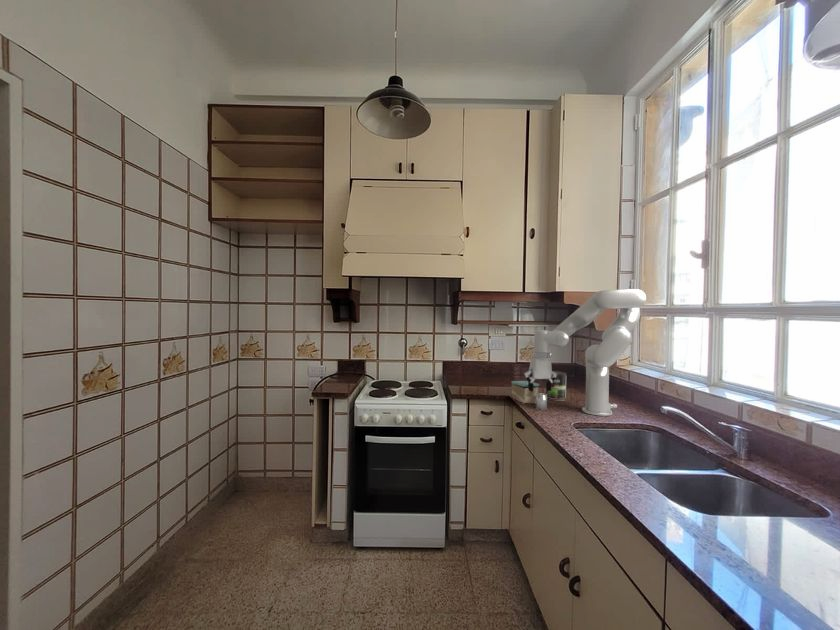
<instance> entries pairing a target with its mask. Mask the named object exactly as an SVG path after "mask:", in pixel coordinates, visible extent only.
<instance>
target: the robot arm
mask: <svg viewBox="0 0 840 630" xmlns="http://www.w3.org/2000/svg"><path fill="white" fill-rule="evenodd" d="M646 302H647V295H646V293H645V292H644V291H643V290H642V289H640V288H639V289H638V288H629V289H628V288H626V289H625V288H623V289H603V290H600V291H596V292H594V293H593V294H592V295H591V296H590V297H589V298H588V299H587V300H585V302H583V303H582V304H581V305H580V306H579V307H578V308H577V309H576V310H574V312H573V313H571V314H570V315H569V316H568V317H567V318H565V319H564V320H563V321H562V322H560V323H559V324H558V325H557V326H556V327H555V328H554V329H553V330H552V331H551V330H547V329H536V330H535V331H534V336H533V338H534V339H533V352H532V353H533V355H532V357H531V359H530V362H529V368H528V371H525V372H524V373H523V376H524V378H525V381H528V390H529V391H533V386H534V384H533V382H535V380H545V381H546V380H547V381H548V382H547V383H546V382H545V383H546V386H545V388H546V389H545V390H548V391H551V389H552V383H553V381H554V380H555V378H556V376H557V374H556V373H555V372H553V371H554V370H552V369H553V367H552V360H551V357H552V355H553V354H552V352H551V346H554V347H561V348H562V347H565V346H566V345H567V344H568V343H569V342H570V337H571V336H572V335H573V334H574V333H576V332H577V331H578V330H581V329H583V328H584V327H587V326H588V325H590V324H591V323H592V322H593V321H594V320H595V319H596V318H597V317H599V316H600V315H601V314H602V313H603V312H605V310H606V309H607V310H609V309H616V310H617V309H618V310H619V312H618V314H617V315H616V317H615V318H614V319H613V321H612V322H611V323H610V324H609V325H608V327H607V328H606V329H605V330H604V331H603V332H602V334H601V340H602V341H601V342H600V344H597V343H596V344H592V345H590V346H588V348H587V349H586V350H585V354H584V355H585V356H584V358H585V406H582V408H581V411H582V412H583V413H586V414H589V415H591V416H600V417H609V416H612V415H613V411H612V409H617V408H618V405H617V403H610V402H609V401H610V400H609V398H610V397H609V395H610V394H609V392H610V391H609V390H610V386H609V385H610V370H609V367H612V366H613V364H615V363H616V362H617V360H619V358H620V357H621V356H622V355H623V354H624V353H625V351H627V349H628V348H629V346H630V345H631V343H632V334H631V332H632V331H633V330H634V328H635V327H636V326H637V325H638V323H639V321H640V318H641V309H640V308H641V307H643V306H644V305H645V303H646ZM551 376H552V377H551Z"/></svg>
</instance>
